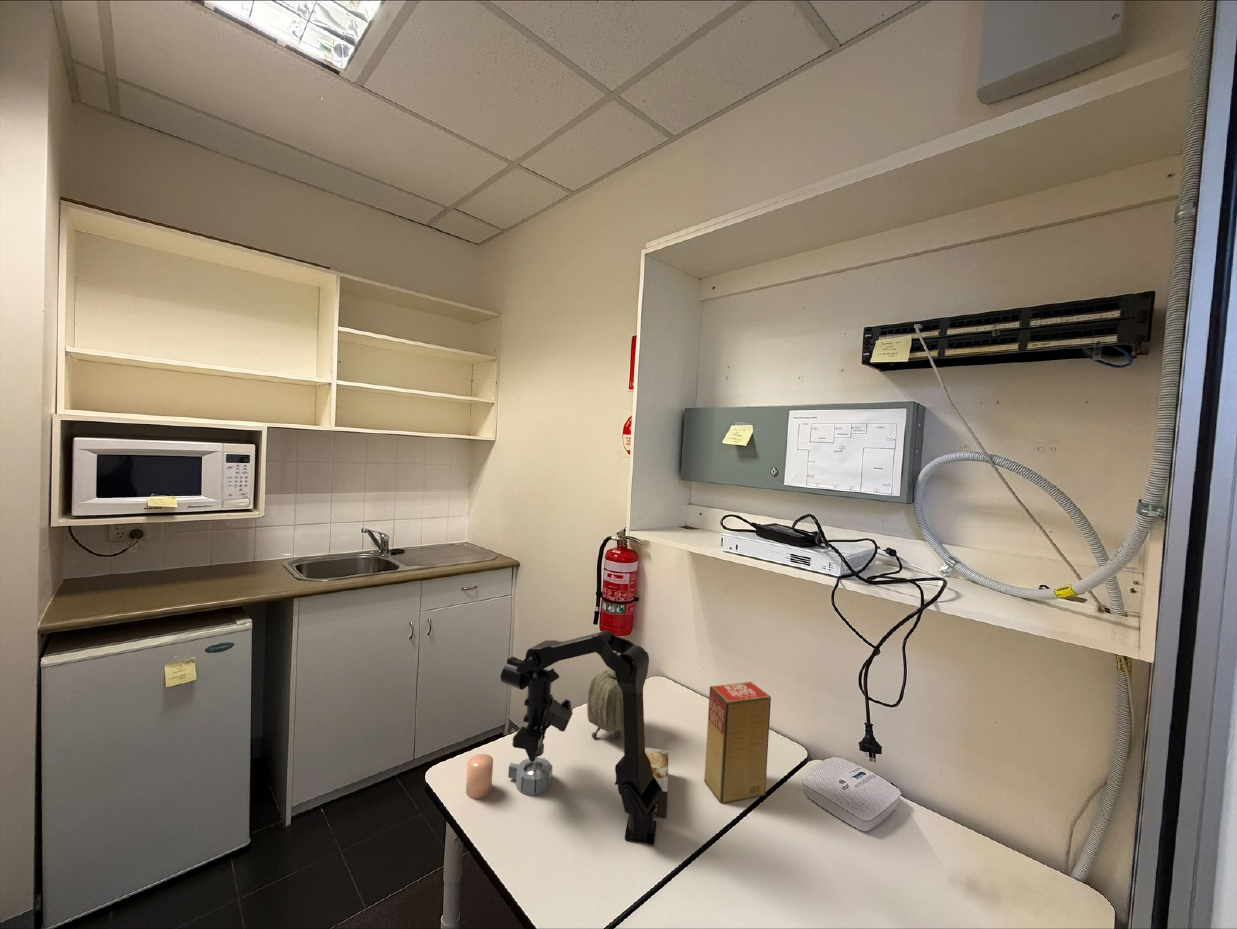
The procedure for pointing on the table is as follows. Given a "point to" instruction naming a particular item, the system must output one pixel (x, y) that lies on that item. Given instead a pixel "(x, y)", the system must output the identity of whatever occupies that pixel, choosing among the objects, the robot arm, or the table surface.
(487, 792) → the peach rounded cylinder
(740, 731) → the food packaging
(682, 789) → the table surface
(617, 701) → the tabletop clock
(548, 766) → the grey octagonal base
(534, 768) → the plunger
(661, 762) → the coffee box
